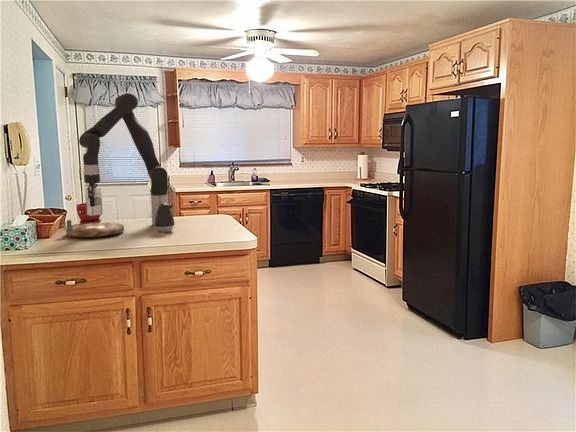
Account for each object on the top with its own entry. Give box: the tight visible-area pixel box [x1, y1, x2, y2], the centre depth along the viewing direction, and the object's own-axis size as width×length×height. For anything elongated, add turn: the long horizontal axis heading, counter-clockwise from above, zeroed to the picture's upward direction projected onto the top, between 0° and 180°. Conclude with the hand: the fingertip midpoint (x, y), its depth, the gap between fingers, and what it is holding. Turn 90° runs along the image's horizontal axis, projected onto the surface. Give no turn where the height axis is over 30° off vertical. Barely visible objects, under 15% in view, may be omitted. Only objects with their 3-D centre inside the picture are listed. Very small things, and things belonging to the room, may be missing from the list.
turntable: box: [65, 219, 125, 238], centre depth 245 cm, size 28×28×7 cm
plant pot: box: [76, 202, 102, 225], centre depth 273 cm, size 13×13×12 cm
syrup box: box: [84, 186, 103, 216], centre depth 243 cm, size 6×6×14 cm
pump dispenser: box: [154, 203, 175, 233], centre depth 250 cm, size 10×10×15 cm
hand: (93, 205), depth 243 cm, fingers closed on syrup box, 7 cm apart
